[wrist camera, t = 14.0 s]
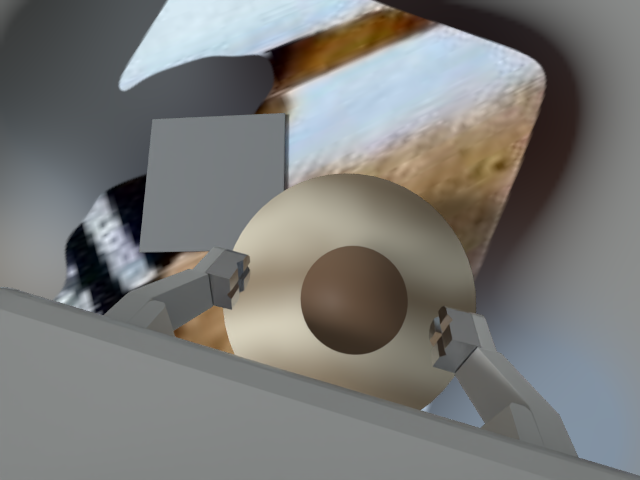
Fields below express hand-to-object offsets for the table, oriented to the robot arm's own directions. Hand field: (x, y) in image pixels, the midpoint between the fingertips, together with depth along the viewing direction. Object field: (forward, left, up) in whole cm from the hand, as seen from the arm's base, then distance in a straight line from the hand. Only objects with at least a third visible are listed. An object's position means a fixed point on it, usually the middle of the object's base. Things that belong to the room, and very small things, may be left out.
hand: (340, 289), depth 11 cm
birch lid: (0, 0, -7) cm, 7 cm away
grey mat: (+13, +15, -19) cm, 27 cm away
